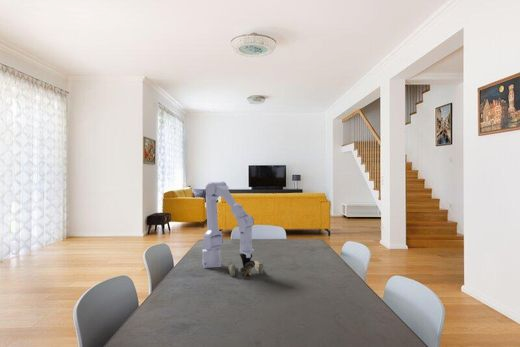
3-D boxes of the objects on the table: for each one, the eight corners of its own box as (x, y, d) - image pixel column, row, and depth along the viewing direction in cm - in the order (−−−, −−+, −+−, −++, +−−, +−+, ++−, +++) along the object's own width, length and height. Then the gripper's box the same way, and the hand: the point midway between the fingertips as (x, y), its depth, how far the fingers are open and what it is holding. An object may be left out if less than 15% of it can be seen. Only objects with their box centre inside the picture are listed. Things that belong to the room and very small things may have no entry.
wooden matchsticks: (230, 276, 146) (230, 266, 146) (227, 268, 159) (227, 258, 159) (263, 274, 149) (263, 263, 149) (257, 266, 163) (257, 256, 163)
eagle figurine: (256, 276, 143) (258, 266, 152) (247, 263, 143) (250, 255, 151) (242, 284, 145) (246, 274, 153) (234, 271, 144) (237, 262, 153)
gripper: (257, 243, 145) (257, 272, 145) (251, 237, 159) (251, 264, 159) (241, 244, 144) (242, 274, 144) (237, 238, 158) (237, 265, 158)
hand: (246, 269), depth 151 cm, fingers closed
